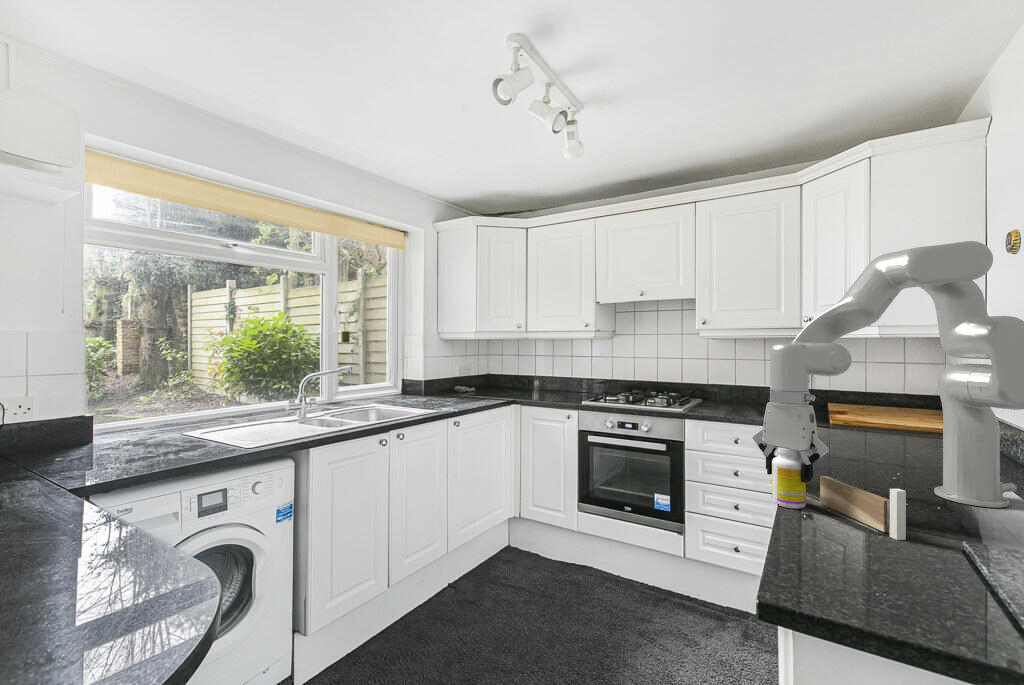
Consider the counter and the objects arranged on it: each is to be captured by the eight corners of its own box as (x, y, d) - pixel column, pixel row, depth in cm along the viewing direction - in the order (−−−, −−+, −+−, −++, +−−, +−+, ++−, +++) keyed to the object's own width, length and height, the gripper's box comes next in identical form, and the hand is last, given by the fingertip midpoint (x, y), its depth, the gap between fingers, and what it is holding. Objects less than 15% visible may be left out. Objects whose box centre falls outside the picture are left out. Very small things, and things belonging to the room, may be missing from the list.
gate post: (898, 536, 89) (898, 488, 89) (905, 539, 88) (905, 491, 88) (889, 536, 89) (889, 488, 89) (896, 539, 87) (896, 491, 87)
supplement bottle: (812, 509, 103) (812, 451, 103) (781, 509, 103) (782, 450, 103) (794, 499, 110) (795, 444, 110) (766, 499, 110) (766, 444, 110)
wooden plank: (826, 503, 107) (826, 475, 107) (896, 534, 89) (896, 501, 89) (820, 503, 107) (820, 475, 107) (888, 534, 89) (888, 502, 89)
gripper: (839, 401, 102) (839, 484, 102) (758, 393, 116) (758, 466, 116) (824, 403, 97) (824, 490, 97) (742, 395, 112) (742, 471, 112)
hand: (788, 476), depth 107 cm, fingers closed on supplement bottle, 6 cm apart
